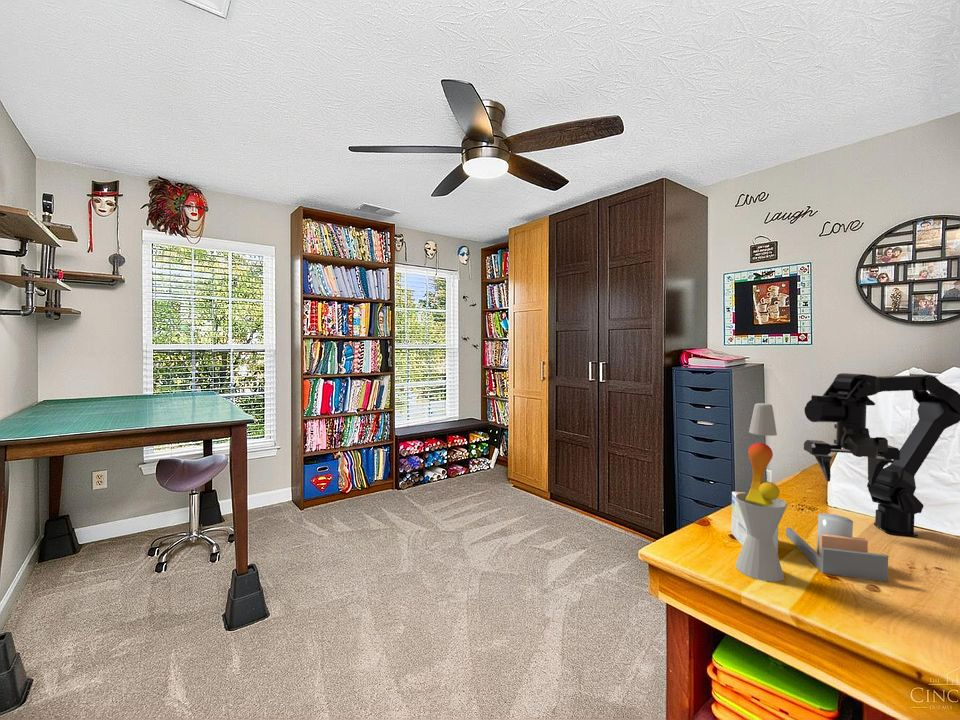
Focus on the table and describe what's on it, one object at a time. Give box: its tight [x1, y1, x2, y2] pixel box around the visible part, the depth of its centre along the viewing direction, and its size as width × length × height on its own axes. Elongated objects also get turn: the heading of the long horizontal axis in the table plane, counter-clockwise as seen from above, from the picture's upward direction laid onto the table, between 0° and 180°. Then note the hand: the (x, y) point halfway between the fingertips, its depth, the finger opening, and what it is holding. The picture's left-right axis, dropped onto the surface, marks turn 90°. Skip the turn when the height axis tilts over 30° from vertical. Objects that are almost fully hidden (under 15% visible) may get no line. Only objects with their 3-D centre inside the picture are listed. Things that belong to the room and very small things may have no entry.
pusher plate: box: [819, 534, 869, 556], centre depth 95 cm, size 8×1×6 cm, turn 74°
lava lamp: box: [734, 402, 788, 583], centre depth 92 cm, size 9×9×35 cm
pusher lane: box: [785, 526, 889, 582], centre depth 100 cm, size 11×20×5 cm, turn 164°
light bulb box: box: [730, 491, 779, 555], centre depth 106 cm, size 11×7×11 cm, turn 168°
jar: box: [816, 513, 854, 554], centre depth 98 cm, size 6×6×9 cm
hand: (849, 482), depth 114 cm, fingers open, 9 cm apart
